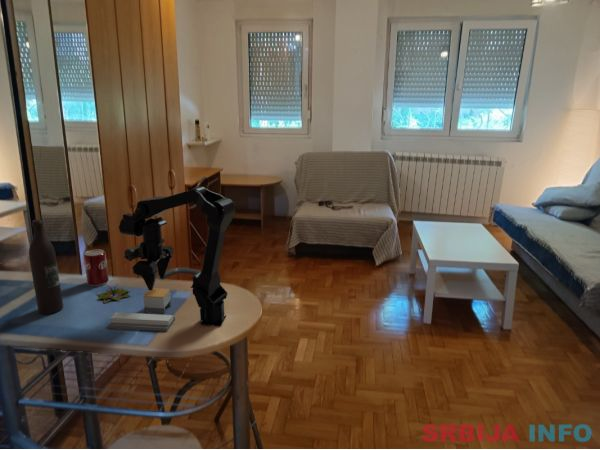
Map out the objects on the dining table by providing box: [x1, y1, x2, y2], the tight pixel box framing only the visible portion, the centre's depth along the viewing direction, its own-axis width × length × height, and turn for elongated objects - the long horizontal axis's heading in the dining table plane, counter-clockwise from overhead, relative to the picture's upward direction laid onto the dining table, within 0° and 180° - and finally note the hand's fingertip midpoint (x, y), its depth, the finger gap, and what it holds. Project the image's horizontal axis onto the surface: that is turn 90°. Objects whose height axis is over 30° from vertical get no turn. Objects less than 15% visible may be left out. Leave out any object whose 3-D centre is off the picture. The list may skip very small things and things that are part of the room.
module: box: [143, 287, 172, 315], centre depth 141 cm, size 6×6×6 cm
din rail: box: [107, 312, 176, 332], centre depth 132 cm, size 18×7×2 cm, turn 86°
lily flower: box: [96, 282, 131, 304], centre depth 151 cm, size 12×12×5 cm
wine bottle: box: [28, 219, 64, 315], centre depth 136 cm, size 7×7×30 cm
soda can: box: [83, 249, 110, 287], centre depth 160 cm, size 7×7×12 cm
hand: (156, 284), depth 140 cm, fingers open, 9 cm apart
